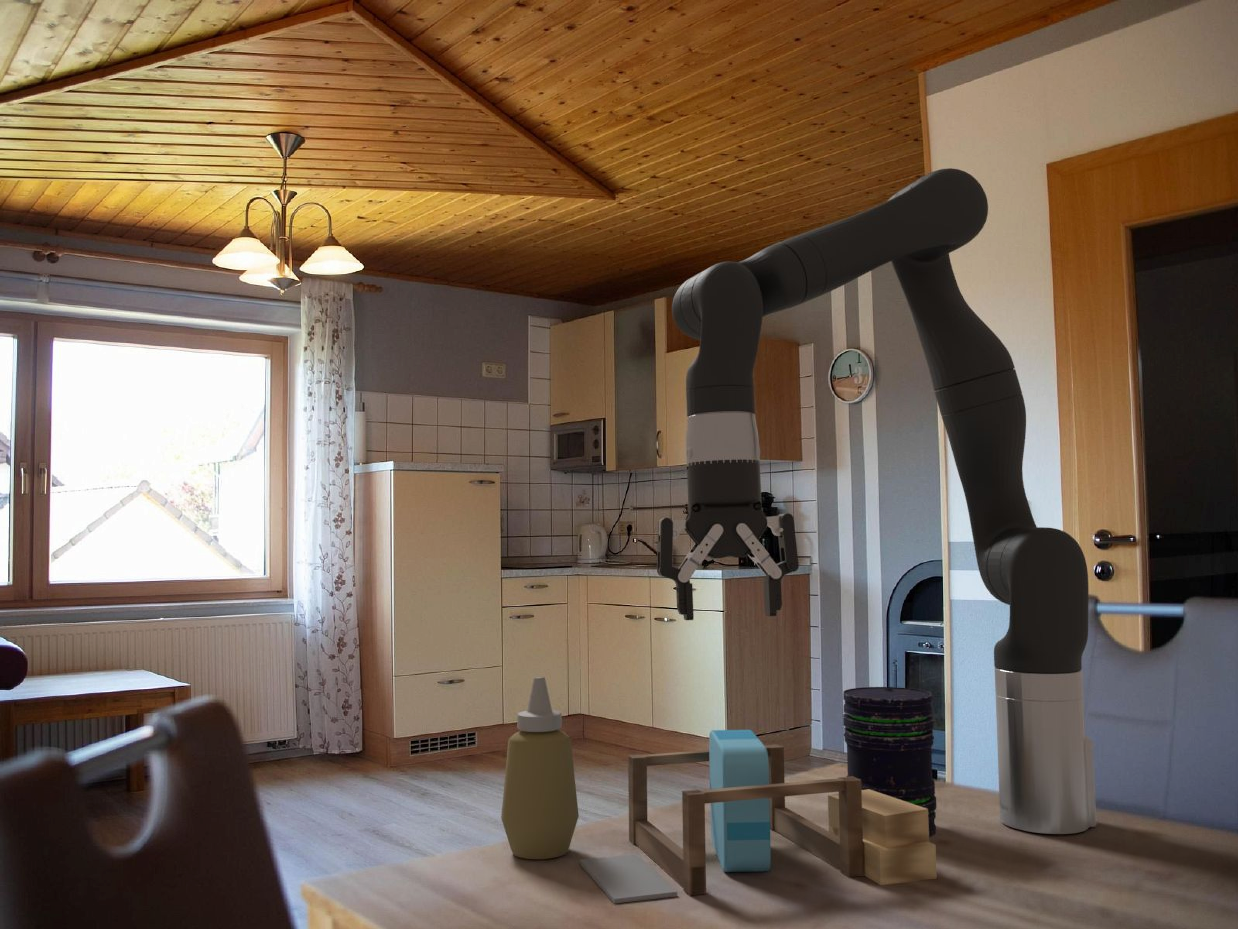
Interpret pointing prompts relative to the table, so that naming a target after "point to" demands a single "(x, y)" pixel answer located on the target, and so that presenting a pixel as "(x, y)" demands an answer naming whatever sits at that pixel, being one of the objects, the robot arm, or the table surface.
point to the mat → (627, 878)
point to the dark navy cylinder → (892, 743)
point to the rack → (691, 859)
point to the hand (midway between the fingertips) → (729, 617)
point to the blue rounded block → (744, 822)
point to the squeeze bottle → (539, 782)
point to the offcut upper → (886, 819)
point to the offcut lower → (897, 861)
